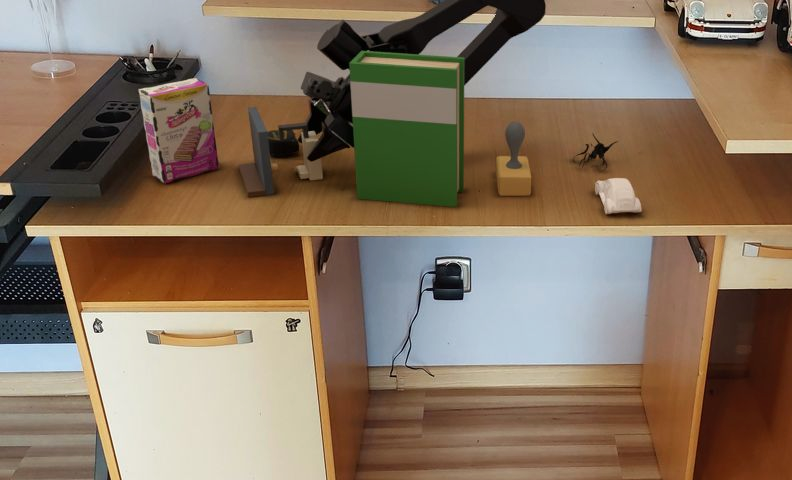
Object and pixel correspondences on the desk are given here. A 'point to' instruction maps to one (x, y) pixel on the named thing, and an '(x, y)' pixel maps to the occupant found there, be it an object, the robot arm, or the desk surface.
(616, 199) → the white toy vehicle
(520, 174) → the rubber stamp
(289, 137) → the tape measure
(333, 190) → the desk surface
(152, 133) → the candy bar box
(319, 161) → the hanger
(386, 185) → the hardback book
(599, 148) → the creature
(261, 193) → the door
